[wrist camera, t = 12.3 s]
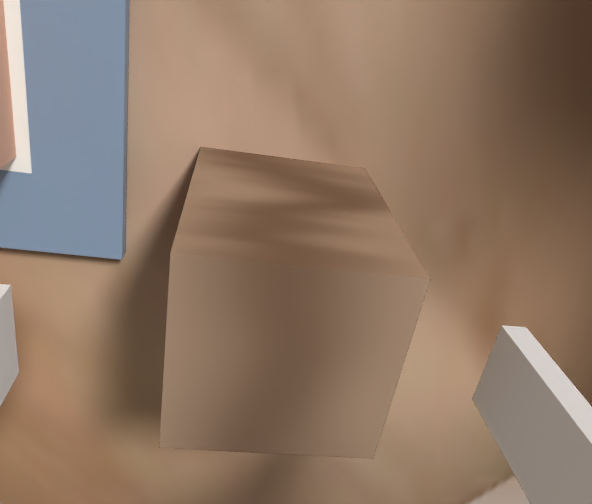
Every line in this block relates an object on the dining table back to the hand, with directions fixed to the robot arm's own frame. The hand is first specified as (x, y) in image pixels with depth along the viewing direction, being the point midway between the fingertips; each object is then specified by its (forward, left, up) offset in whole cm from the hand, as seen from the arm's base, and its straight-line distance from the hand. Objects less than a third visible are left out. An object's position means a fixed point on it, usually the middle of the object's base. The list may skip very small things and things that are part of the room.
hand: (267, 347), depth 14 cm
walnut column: (0, 0, -7) cm, 7 cm away
